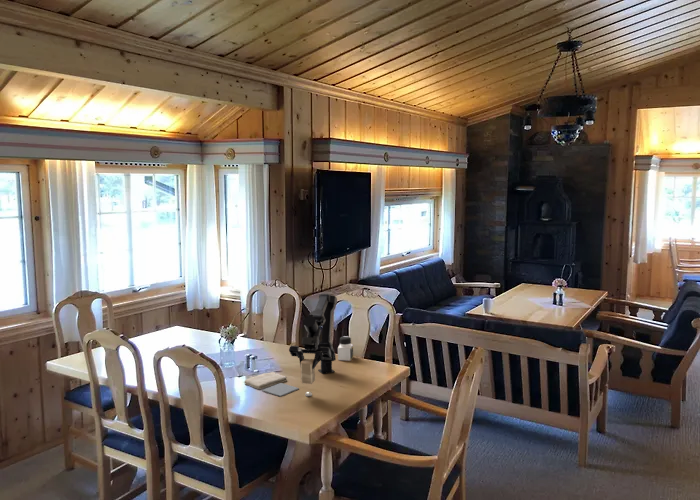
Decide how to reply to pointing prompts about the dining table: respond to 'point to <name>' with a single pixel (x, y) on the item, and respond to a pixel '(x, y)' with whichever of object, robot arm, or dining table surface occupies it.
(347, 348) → the medicine bottle
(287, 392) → the mat
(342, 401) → the dining table surface
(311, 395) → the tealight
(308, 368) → the beige tall block
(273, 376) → the washcloth
